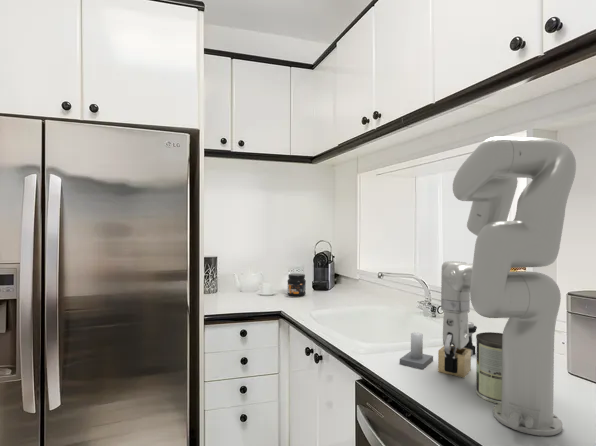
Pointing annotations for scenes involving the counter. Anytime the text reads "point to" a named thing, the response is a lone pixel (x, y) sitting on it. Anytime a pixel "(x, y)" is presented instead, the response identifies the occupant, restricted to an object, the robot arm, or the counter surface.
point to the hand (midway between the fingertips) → (454, 367)
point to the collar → (462, 362)
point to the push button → (471, 330)
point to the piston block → (416, 353)
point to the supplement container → (296, 285)
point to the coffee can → (489, 366)
